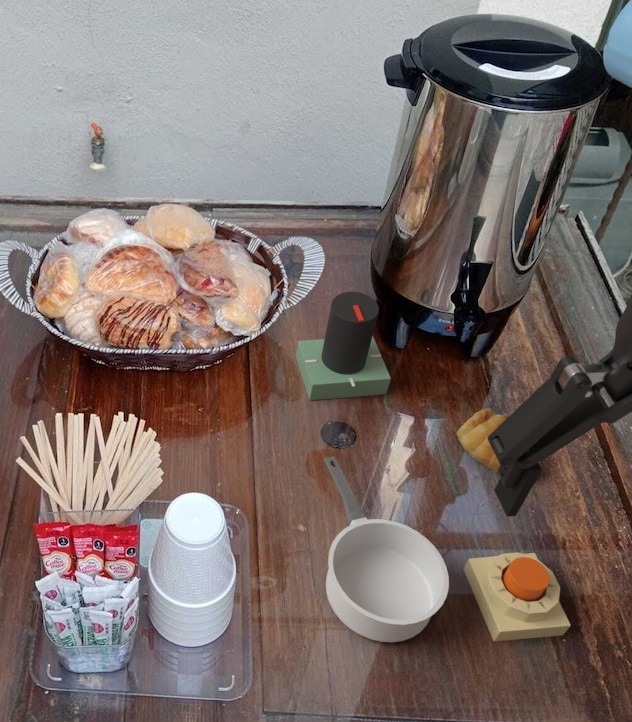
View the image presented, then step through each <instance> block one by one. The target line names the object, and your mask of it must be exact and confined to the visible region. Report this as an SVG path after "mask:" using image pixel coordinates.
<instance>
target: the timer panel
mask: <svg viewBox="0 0 632 722" xmlns="http://www.w3.org/2000/svg"><path fill="white" fill-rule="evenodd" d="M324 339H325V338H318V339H305V340H304V339H303V340H297V346H296V347H297V348H296V351H295V358H296V362H297V365H298V369H299V372H300V375H301V378H302V381H303V384H304V388H305V390H306V394H307V397H308V400H309V401H320V400H332V399H346V398H356V397H368V396H369V397H370V396H381V395H387V394H388V390H389V387H390V383H391V380H392V378H391V375H390V373H389V371H388V369H387V366H386V364H385V361H384V359H383V356H382V354H381V352H380V349H379V347H378V345H377V343H376V340H375V338H374V335H373V336H372V340H371V344H370V348H369V352H368V356H367V360H366V364H365V366H364V368H363V369H362V370H360V371H359V372H357V373H354V374H340V373H336V372H334V371H332V370H330V369H329V368H327V367H326V366H325V365H324V363H323V361H322V358H321V355H322V350H323V345H324Z"/></svg>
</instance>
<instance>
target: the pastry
mask: <svg viewBox="0 0 632 722" xmlns="http://www.w3.org/2000/svg"><path fill="white" fill-rule="evenodd" d="M508 417H509V416H507V415H506V414H497V413H496V412H495V411H493V410H492V408H488V407H486V408H484V409H481V410H479V411H477V412H475V413H474V414H473V415H472V416H471V417H470V418H468V419H467V420H466V421H465V422H464V424H462V426H460V427H459V429H458V430H457V431H456V436H457V439H458V442H459V443H460V444H461V446H462V448H463V450H464V451H465V452H467V453H468V455H470V456H471V458H472V459H474V460H475V461H477V462H478V463H479V464H482V465H483V466H485V467H486V468H487V469H490V470H491V471H493V472H494V473H497V474H498V469H499V467H500V463H499V461H498V459H497V457H496V455H495V453H494V451H493V449H492V447H491V445H490V443H489V441H488V439H487V438H488V436H489V435H490V434H491V433H492V432H493V431H494V430H495V429H496V428H497V427H498V426H500V425H501V424H502V423H503V422H504V421H505V420H506V419H507V418H508ZM541 463H542V461H540V462H539V464H540V466H541V467H542V465H541Z"/></svg>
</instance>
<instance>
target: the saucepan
mask: <svg viewBox="0 0 632 722" xmlns="http://www.w3.org/2000/svg"><path fill="white" fill-rule="evenodd" d="M323 462H324V463H325V465H326V468H327V470H328V472H329V474H330V476H331V478H332V480H333V482H334V484H335V487H336V489H337V491H338V493H339V495H340V498H341V499H342V503H343V508H344V513H345V514H344V515H345V522H346V524H347V526H346V527H345V528H343V529H342V530H341V531H340V532H339V533H338V534H336V536H335V538H334V539H333V541H332V543H331V545H330V548H329V550H328V558H327V565H328V569H327V573H326V577H325V590H326V597H327V600H328V603H329V605H330V607H331V608H332V610H333V612H334V613H335V615H336V616H337V617H338V619H339V620H340V621H341V622H342V623H343V624H344V625H345V626H346V627H348V628H349V629H350V630H352V632H355V633H357V634H358V635H360V636H362V637H364V638H366V639H369V640H372V641H377V642H381V643H398V642H403V641H407V640H410V639H413V638H414V637H415V636H417V635H418V634H420V633H421V632H422V631H423V630H424V629H425V628H426V627H427V626H428V624H429V622H430V620H431V618H432V616H433V615H435V614H436V613H437V612H438V611H439V610H440V609H441V608H442V606H443V605H444V603H445V601H446V599H447V597H448V592H449V588H450V577H449V576H450V575H449V572H448V568H447V565H446V562H445V561H444V559H443V556H442V554H441V553H440V552H439V550H438V549H437V548H436V546H435V545H434V544H433V543H432V542H431V541H430V540H429V539H428V538H427V537H425V535H423V534H422V533H420V532H419V531H417V530H416V529H414V528H412V527H410V526H408V525H406V524H403V523H400V522H397V521H395V520H388V519H382V518H381V519H380V518H370V519H368V516H367V514H366V513H365V512H364V511H363V510H362V507H361V505H360V503H359V501H358V499H357V497H356V496H355V494H354V492H353V490H352V488H351V486H350V484H349V482H348V481H347V478H346V476H345V474H344V471H342V469H341V466H340V465H339V463H338V460H337V459H336V457H335V455H331V456H327V457H325V458H324V459H323Z"/></svg>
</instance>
